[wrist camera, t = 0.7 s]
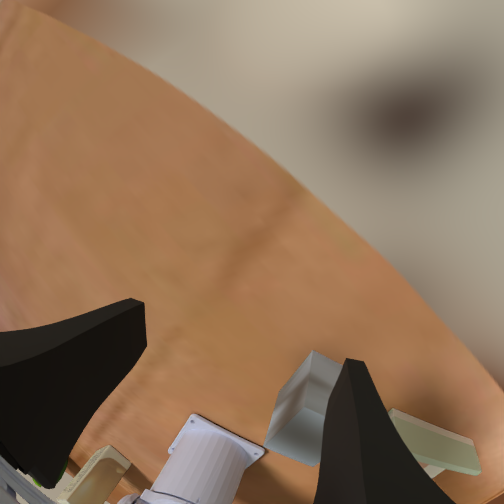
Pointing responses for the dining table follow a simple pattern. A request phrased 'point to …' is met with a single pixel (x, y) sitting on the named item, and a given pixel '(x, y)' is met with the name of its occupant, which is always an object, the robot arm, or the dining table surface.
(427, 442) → the open-front display tray
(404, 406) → the dining table surface
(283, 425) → the slate cabinet block
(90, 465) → the skincare box
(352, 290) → the dining table surface
